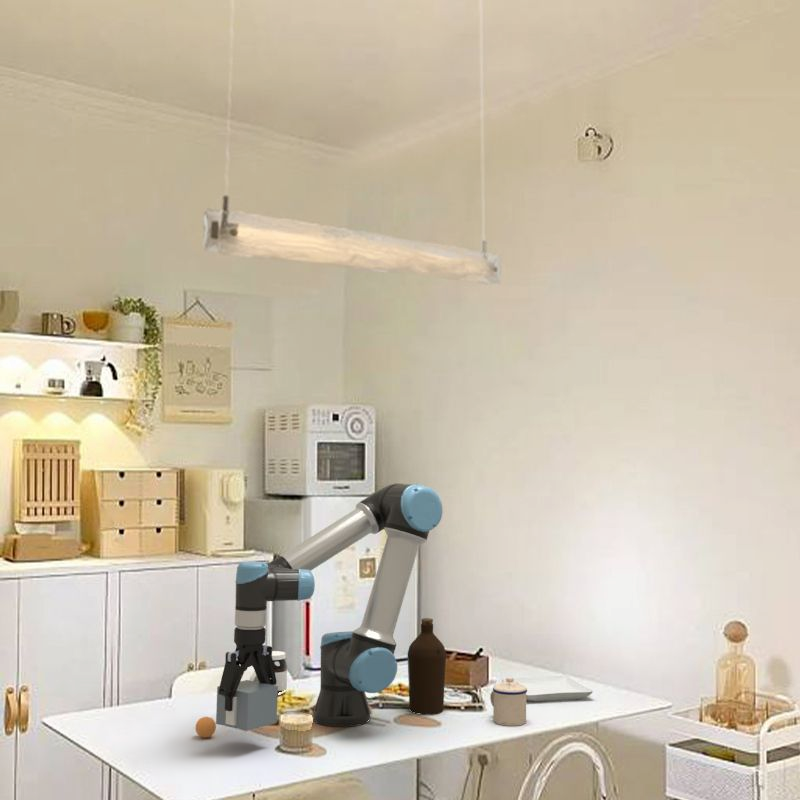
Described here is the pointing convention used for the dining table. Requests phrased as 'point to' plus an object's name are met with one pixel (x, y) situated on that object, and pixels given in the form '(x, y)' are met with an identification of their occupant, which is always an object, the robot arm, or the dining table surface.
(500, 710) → the teacup with lid
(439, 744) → the dining table surface
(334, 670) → the robot arm
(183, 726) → the dining table surface
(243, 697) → the grey block
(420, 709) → the olive oil
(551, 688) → the salad plate
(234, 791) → the dining table surface
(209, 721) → the ball
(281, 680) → the spread jar
